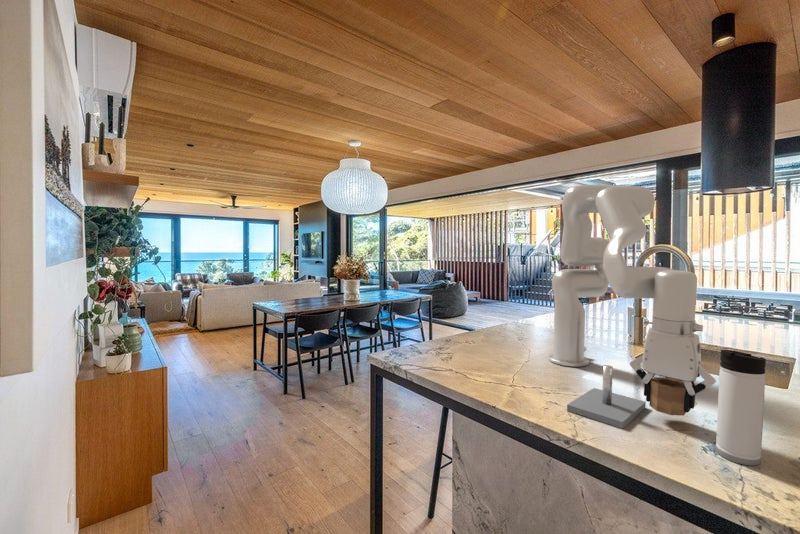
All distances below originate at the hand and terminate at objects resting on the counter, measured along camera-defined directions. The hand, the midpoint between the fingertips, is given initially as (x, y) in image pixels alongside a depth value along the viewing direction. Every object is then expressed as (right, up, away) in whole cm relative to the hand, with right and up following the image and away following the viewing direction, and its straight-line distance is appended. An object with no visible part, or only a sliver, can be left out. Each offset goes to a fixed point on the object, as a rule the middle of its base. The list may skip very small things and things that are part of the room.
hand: (668, 404), depth 84 cm
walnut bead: (0, -1, 0) cm, 1 cm away
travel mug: (+3, -5, -14) cm, 15 cm away
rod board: (-10, -4, +7) cm, 13 cm away
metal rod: (-10, -2, +6) cm, 12 cm away
